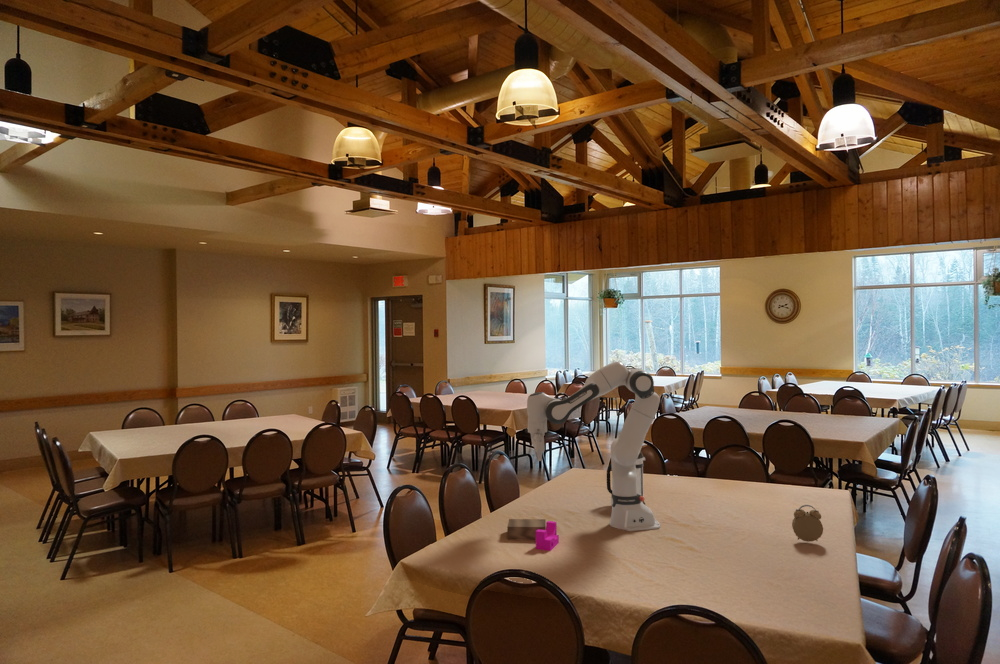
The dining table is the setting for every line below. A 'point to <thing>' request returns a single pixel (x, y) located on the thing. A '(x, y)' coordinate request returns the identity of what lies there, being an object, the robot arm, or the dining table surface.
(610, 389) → the robot arm
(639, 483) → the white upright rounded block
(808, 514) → the alarm clock
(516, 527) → the walnut plinth
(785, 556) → the dining table surface
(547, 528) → the toy block
